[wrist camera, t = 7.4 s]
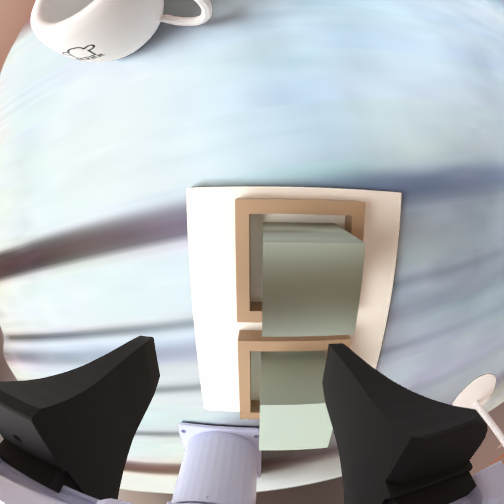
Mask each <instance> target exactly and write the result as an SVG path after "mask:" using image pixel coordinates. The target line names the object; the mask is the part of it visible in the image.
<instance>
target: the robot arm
mask: <svg viewBox="0 0 504 504" xmlns="http://www.w3.org/2000/svg"><path fill="white" fill-rule="evenodd" d="M159 377H160V373H159V367H158V362H157V356H156V350H155V344H154V338H153V337H146V336H139V337H137V338H135V339H133V340H131V341H129V342H127V343H126V344H124V345H122V346H120V347H119V348H117V349H115V350H113V351H111V352H110V353H108V354H106V355H104V356H102V357H100V358H98V359H96V360H94V361H92V362H90V363H88V364H86V365H84V366H81V367H79V368H76V369H73V370H71V371H68V372H65V373H61V374H57V375H54V376H50V377H46V378H40V379H34V380H27V381H11V382H0V434H1V435H2V437H3V438H4V440H3V441H2V442H1V443H0V504H133V503H129V502H125V501H121V500H118V494H119V488H120V484H121V479H122V474H123V470H124V467H125V463H126V459H127V456H128V453H129V449H130V446H131V443H132V440H133V438H134V435H135V433H136V430H137V428H138V426H139V424H140V422H141V420H142V418H143V416H144V414H145V412H146V410H147V408H148V406H149V404H150V402H151V400H152V398H153V396H154V393H155V390H156V387H157V384H158V381H159ZM322 385H323V392H324V398H325V404H326V407H327V411H328V414H329V417H330V421H331V424H332V427H333V431H334V434H335V438H336V441H337V445H338V449H339V455H340V462H341V469H342V478H343V486H344V501H345V504H504V465H503V463H502V462H501V461H498V462H496V463H495V464H493V465H491V466H489V467H487V468H485V469H483V470H481V471H480V472H478V473H477V474H475V475H474V476H473V477H472V476H471V475H470V472H469V471H470V470H471V469H472V464H471V463H470V461H469V460H470V459H471V457H472V456H473V455H474V453H475V452H476V450H477V449H478V448H479V446H480V445H481V443H482V441H483V440H484V438H485V436H486V433H487V424H486V423H485V421H484V420H483V419H482V417H481V416H480V415H479V413H478V412H477V411H476V409H470V408H464V407H458V406H453V405H449V404H445V403H442V402H438V401H435V400H432V399H429V398H426V397H424V396H422V395H419V394H417V393H414V392H412V391H410V390H408V389H406V388H404V387H402V386H401V385H399V384H397V383H395V382H393V381H392V380H390V379H389V378H387V377H386V376H384V375H383V374H381V373H380V372H378V371H377V370H376V369H374V368H373V367H372V366H370V365H369V364H368V363H367V362H365V361H364V360H363V359H362V358H360V357H359V356H358V355H357V354H356V353H354V352H353V351H352V350H351V349H350V348H349V347H347V346H346V345H345V344H343V343H336V344H329V345H328V351H327V358H326V364H325V370H324V375H323V381H322ZM178 428H179V432H180V436H181V440H182V444H183V447H184V451H185V453H184V457H183V461H182V464H181V468H180V472H179V475H178V479H177V483H176V487H175V490H174V494H173V498H172V501H171V502H167V504H256V483H257V478H259V477H261V456H262V450H259V428H244V427H224V426H211V425H200V424H191V423H179V426H178Z"/></svg>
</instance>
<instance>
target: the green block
mask: <svg viewBox="0 0 504 504" xmlns="http://www.w3.org/2000/svg"><path fill="white" fill-rule="evenodd" d="M365 245H366V243H364V242H363V241H361V240H360V239H358V238H357V237H355V236H354V235H352V234H350V233H349V232H347V231H346V230H344V229H343V228H341V227H340V226H338V225H336V224H335V223H303V222H263V292H262V337H300V336H333V335H353V334H355V328H356V321H357V315H358V308H359V301H360V293H361V285H362V276H363V267H364V256H365Z"/></svg>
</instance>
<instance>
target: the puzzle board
mask: <svg viewBox="0 0 504 504" xmlns="http://www.w3.org/2000/svg"><path fill="white" fill-rule="evenodd" d="M186 194H187V226H188V247H189V265H190V280H191V294H192V306H193V317H194V328H195V338H196V348H197V357H198V365H199V374H200V381H201V389H202V396H203V404H204V410H215V411H231V412H240V419H260V426H259V450H302V449H317V448H328V444H329V441H330V438H331V434H332V430H333V427H332V424H331V421H330V417H329V414H328V411H327V407H326V404H325V398H324V392H323V385H322V381H323V375H324V370H325V364H326V358H327V351H328V345H329V344H336V343H343V344H345V345H346V346H347V347H349V348H350V349H351V350H352V351H353V352H354V353H356V354H357V355H358V356H359V357H360V358H362V359H363V360H364V361H365V362H367V363H368V364H369V365H370V366H372V367H373V368H374V369H376V366H377V362H378V358H379V354H380V350H381V345H382V341H383V336H384V331H385V327H386V322H387V316H388V311H389V305H390V300H391V294H392V287H393V281H394V273H395V266H396V258H397V249H398V239H399V227H400V213H401V193H398V192H388V191H375V190H359V189H341V188H318V187H278V186H231V187H191V188H186ZM263 222H303V223H335V224H336V225H338V226H340V227H341V228H343V229H344V230H346V231H347V232H349V233H350V234H352V235H354V236H355V237H357V238H358V239H360V240H361V241H363V242H364V243H366V245H365V256H364V267H363V276H362V285H361V293H360V301H359V308H358V315H357V321H356V328H355V334H353V335H333V336H300V337H262V292H263Z"/></svg>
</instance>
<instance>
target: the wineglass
mask: <svg viewBox="0 0 504 504" xmlns="http://www.w3.org/2000/svg"><path fill="white" fill-rule="evenodd" d="M495 384H496V379H495V376H494V375H493V374H486V375H483V376H480V377H479V378H477V379H476V380H474V381H473V382H471V383H470V384H469V385H468V386H467V387H466V388H465V389H464V390H463V391H462V392H461V393H460V394H459V395H458V396H457V398H456V399H455V401H454V402H453V404H452V405H453V406H458V407H464V408H470V409H476V411H478V412H479V413H480V414H481V416H482V417H483V418H484V420H485V421H486V423H487V424H488V425H489V427H490V428H491V429H492V431H493V432H494V434H495V435H496V436H497V438H498V439H499V441H500V442H501V444H502V445H503V447H504V434H503V433H502V432H501V430H500V429H499V427H498V426H497V425H496V423H495V422H494V421H493V419H492V418H491V417H490V416H489V414H488V413H487V411H486V410H485V409H484V408H483V405H484V404H485V403H486V402H487V401H488V399H489V398H490V396H491V395H492V393H493V390H494V388H495Z"/></svg>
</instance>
